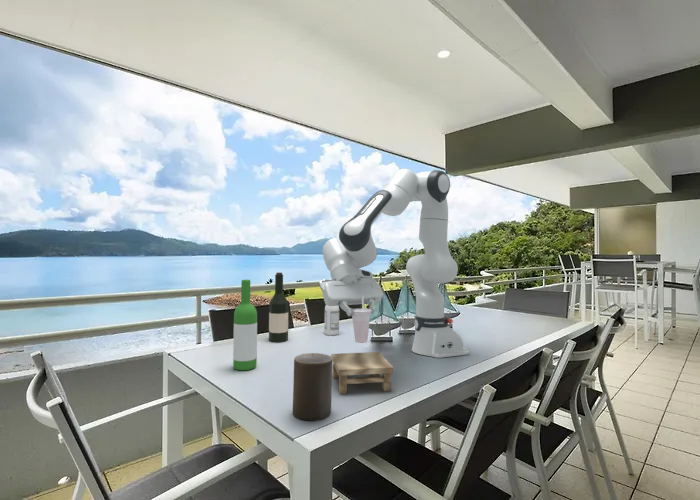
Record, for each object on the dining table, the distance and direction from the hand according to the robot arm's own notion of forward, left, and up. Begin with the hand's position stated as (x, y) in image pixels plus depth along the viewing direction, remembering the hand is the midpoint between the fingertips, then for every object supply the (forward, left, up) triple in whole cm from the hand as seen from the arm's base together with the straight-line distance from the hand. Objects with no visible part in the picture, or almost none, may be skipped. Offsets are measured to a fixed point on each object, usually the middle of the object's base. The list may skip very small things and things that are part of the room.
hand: (362, 313), depth 113 cm
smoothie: (0, 0, -9) cm, 9 cm away
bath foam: (0, -65, -22) cm, 69 cm away
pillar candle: (+16, +17, -22) cm, 32 cm away
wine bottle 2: (+25, -56, -22) cm, 66 cm away
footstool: (0, -1, -21) cm, 21 cm away
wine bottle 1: (+36, -20, -22) cm, 47 cm away
